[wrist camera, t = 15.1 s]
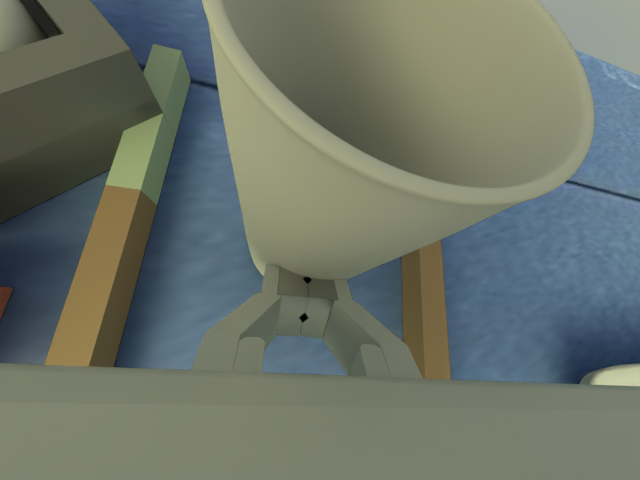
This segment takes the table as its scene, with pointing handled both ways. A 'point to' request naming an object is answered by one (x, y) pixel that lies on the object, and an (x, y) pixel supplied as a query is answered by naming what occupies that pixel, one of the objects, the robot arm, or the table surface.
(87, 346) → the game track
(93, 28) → the dome housing
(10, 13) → the pop dome
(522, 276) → the table surface
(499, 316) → the table surface
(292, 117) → the mug
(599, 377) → the salad plate
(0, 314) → the die
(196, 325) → the table surface
